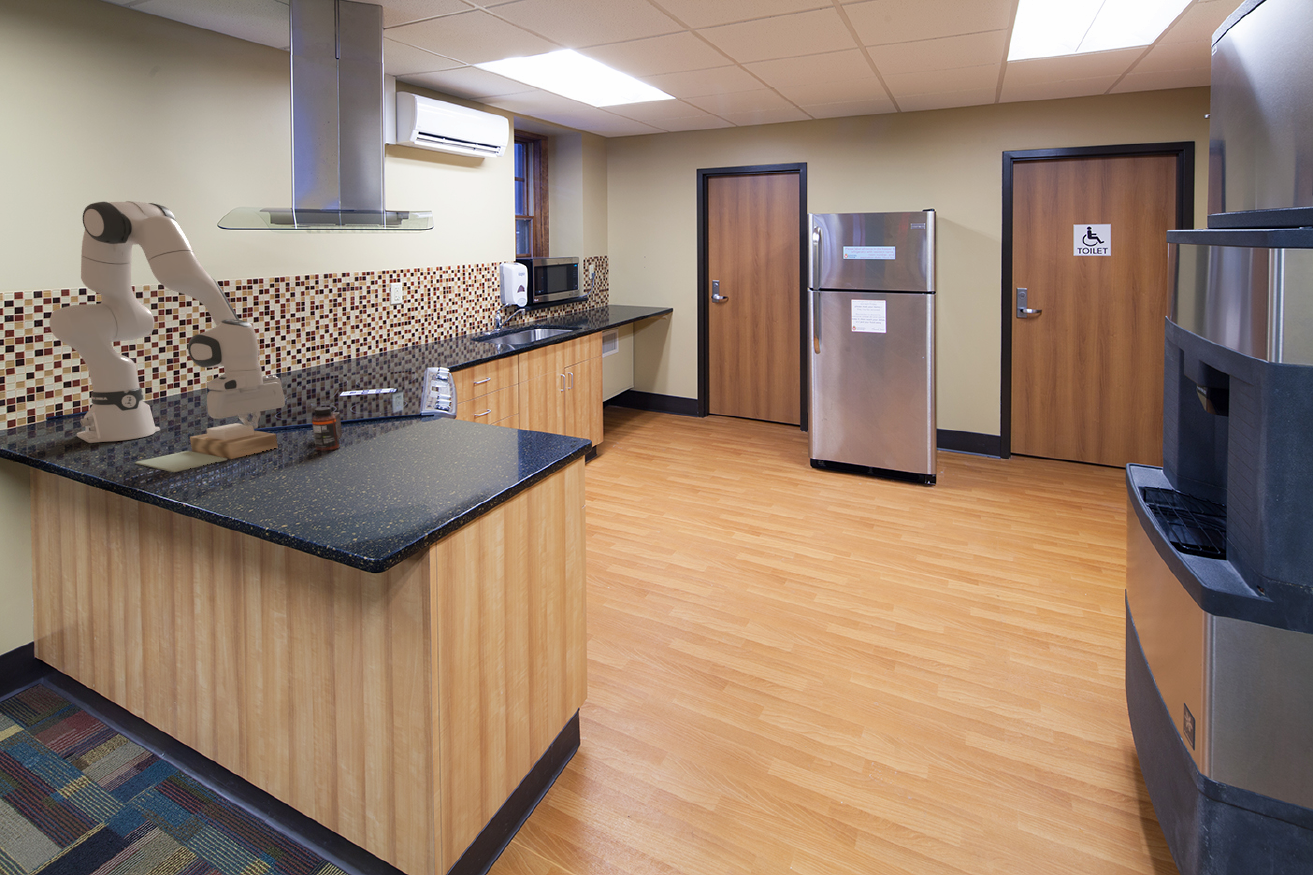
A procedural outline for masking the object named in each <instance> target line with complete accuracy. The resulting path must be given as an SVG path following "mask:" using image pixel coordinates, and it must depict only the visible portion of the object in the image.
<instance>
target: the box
mask: <svg viewBox="0 0 1313 875" xmlns="http://www.w3.org/2000/svg"><path fill="white" fill-rule="evenodd" d="M331 414H332V415H334V416H335V417H336V423H337V431H338V439H339V440H340V439H341V438H342V437H343V432H342V423H341V422H342V420H341V413H340V412H331ZM313 417H315V415H314V416H313ZM341 436H342V437H341Z"/></svg>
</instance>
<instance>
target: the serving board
mask: <svg viewBox="0 0 1313 875" xmlns="http://www.w3.org/2000/svg"><path fill="white" fill-rule="evenodd" d="M277 440H278V439H277V433H271V432H265V431H259V430H254V435H249V436H245V437H240V438H235V439H230V440H219V439H214V438H208V435H207V433H203V434H199V435H193V436H189V441H190V447H191V451H192V452H197V453H202V454H207V455H212V456H217V457H222V458H227V460H233V459H238V458H241V457H242V458H243V457H246V455H247V456H250V455H254V453H255V454H258V453H263V452H262V451H264V452H267V451H266V450H268V451H271V450H270V449H272V450H275V449H274V448H277V449H278V448H279V447H278V446H279V445H278V441H277Z"/></svg>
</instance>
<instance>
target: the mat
mask: <svg viewBox="0 0 1313 875" xmlns="http://www.w3.org/2000/svg"><path fill="white" fill-rule="evenodd" d="M227 460H228V458H223V457H218V456H213V455H208V454H203V453H198V452H193V451H192V450H184V451H180V452H175V453H172V454H167V455H162V456H158V457H153V458H152V457H151V458H148V459H143V460H142V459H141V460H138V461H134V462H135V464H137V465H141V466H144V467H150V468H152V469H153V468H154V469H158V470H162V471H167V472H170V473H171V472H172V473H177V472H182V471H186V470H191V469H194V468H199V467H204V466H208V465H212V464H216V463H215V462H217V463H220V462H225V461H227ZM211 463H212V464H211ZM207 464H208V465H207ZM203 465H204V466H203ZM190 468H191V469H190Z"/></svg>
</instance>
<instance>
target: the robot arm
mask: <svg viewBox="0 0 1313 875" xmlns="http://www.w3.org/2000/svg"><path fill="white" fill-rule="evenodd" d="M82 213H83V214H82V223H83V227H84V232H83V235H82V236H83V237H82V242H81V255H80V256H81V258H80V260H81V262H80V279H81V281H82V283H83V285H84V286H85V287H86V288H87V289H89V290H90V291H93V292H95V293H97V294H98V295H100V297H101V301H100V303H91V304H90V303H89V304H86V303H85V304H73V305H68V306H64V307H61V308H56V309H54V310H53V312H52V313H51V315H50V318H49V322H48V323H49V324H48V325H49V328H50V331H51V333H52V335H53V336H54V337H55V338H56V339H57V340H59V341H60V342H61V343H63V344H65V345H67V346H69V347H70V348H72V349H73V350H74V351H76V353H78V355H79V357H81V358H82V360H83V361H84V363H85V365H86V368H87V371H88V374H89V378H90V382H91V386H92V391H91V392H90V393H91V396H90V398H91V403H92V405H91V406H90V407H89V410H88V411H87V412H86V414H85V415H84V416H83V418H81V419H80V424H81V427H82V428H84V427H85V430H83V431H79V432H77V433H76V437H78V438H79V439H81V440H83V441H84V442H87V443H88V444H93V443H102V442H104V443H105V442H118V441H120V442H121V441H128V440H136V439H139V438H140V439H141V438H144V437H149V436H151V435H154V434H155V433H156V432H159V431H161V428H160V427H159V426H156V425H155V422H154V418H153V414H152V410H151V406H150V405H149V404H148V403H146V402H145V400H144V392H143V389H142V387H140V380H139V374H138V372H137V370H138V369H137V365H136V363H135V361H134V360H133V359H131V358H130V357H129V356H128V357H127V356H125V355H123V354H120V353H118V352H116V350H115V348H114V347H113V345H112V343H114V342H126V341H133V340H138V339H141V338H144V337H147V336H150V335H151V334H152V333H153V331H154V329H155V324H156V323H155V317H154V316H153V313H152V312H151V311H150V309H149V308H148V307H146V305H144V304H142V303H141V302H140V301H139V300H138V299H137V297H136V295H135V293H134V291H133V287H132V248H133V246H134V245H139V246H140V248H141V249H142V250H143V253H144V257H145V258H146V261H147V263H148V265H149V268H150V270H151V272H152V274H153V275H154V277H155V279H156V280H157V281H158V282H159V284H160V285H162V286H163V287H165V288H167V289H168V290H170V291H172V292H177V293H180V294H182V295H185V296H188V297H190V298H193V299H195V300H196V301H199V303H200V304H202V305H203V307H204V308H205V309H206V310H207V312H208V313H209V315H210V316H211V319H212V321H213V322H214V324H215V325H216V326H214V327H213V328H211V329H209V330H206V331H203V332H200V333H197V334H194V335H193V336H192V337H191V338H190V339H189V341H188V344H187V353H188V356H189V358H190V359H191V360H192V362H193V363H194V364H195V365H197V366H198V367H201V368H208V369H211V368H218V367H219V368H220V367H223V370H224V373H222V374H221V375H220V376H218V377H217V376H216V378H214V379H211V380H209V381H208V382H207V381H206V382H207V383H206V387H207V389H208V390H209V391H208V392H207V395H206V408H207V413H208V416H210V417H211V418H212V419H216V420H217V419H218V420H220V419H225V418H230V417H231V418H232V417H236V416H238V417H237V418H238V419H239V420H240V422H241V423H243V424H244V425H251V426H253V428H254V429H257V428H259V423H258V422H259V420H260V418H261V414H262V413H261V412H264V411H269V410H274V409H279V408H284V407H285V404H286V399H285V393H284V390H283V388H282V380H281V379H280V378H279V377H277V376H276V375H270V376H263V371H262V366H261V365H262V364H261V363H260V360H259V354H260V350H259V349H260V348H259V343H258V342H259V341H258V337H257V334H256V330H255V328H254V326H253V324H252V323H250V322H248V321H246V320H242V319H240V318H239V316H238V315H237V313H236V311H235V310H234V308H233V306H232V304H231V303H230V301H229V299H228V297H227V296H226V293H225V292H224V290H223V289H222V288H221V286H220V285H219V283H218V282H217V280H215V279H214V278H213V277H212V276H211V275H210V274H209V273H208V272H207V271H206V270H205V268H204V267H203V266H202V264H201V262H200V261H199V258H197V255H196V254H195V251H194V248H193V247H192V245H191V243H190V241H189V239H188V237H187V236H186V234H185V232H184V231H183V229H182V228H181V227H180V225H179V224H178V222H177V219H176V217H175V215H174V213H173V212H172V211H171V210H170V209H169V208H167V207H166V206H164V205H161V204H158V203H153V202H149V203H146V202H140V201H129V200H127V201H109V202H107V201H98V202H93V203H90V204H88V205H87V206H86V207H85V208H84V210H83V212H82ZM249 414H250V415H251V416H252V418H251V421H249V420H248V419H247V418H248V417H249V416H248V415H249Z"/></svg>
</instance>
